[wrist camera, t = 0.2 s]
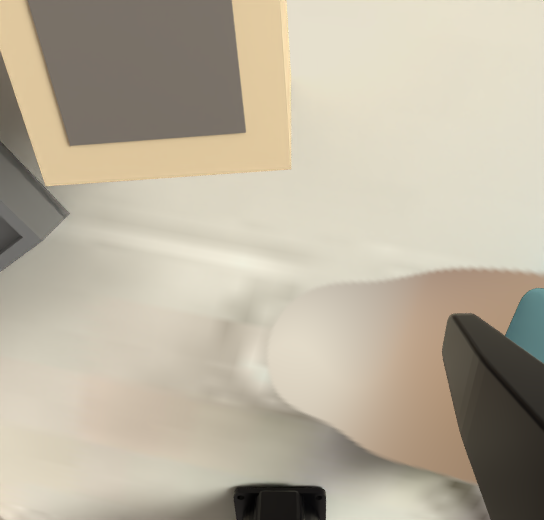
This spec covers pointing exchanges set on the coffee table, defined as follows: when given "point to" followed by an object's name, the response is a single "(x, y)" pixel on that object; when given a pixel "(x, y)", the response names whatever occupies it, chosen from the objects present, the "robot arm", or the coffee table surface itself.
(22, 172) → the tray
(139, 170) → the kraft box
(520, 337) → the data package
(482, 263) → the coffee table surface
